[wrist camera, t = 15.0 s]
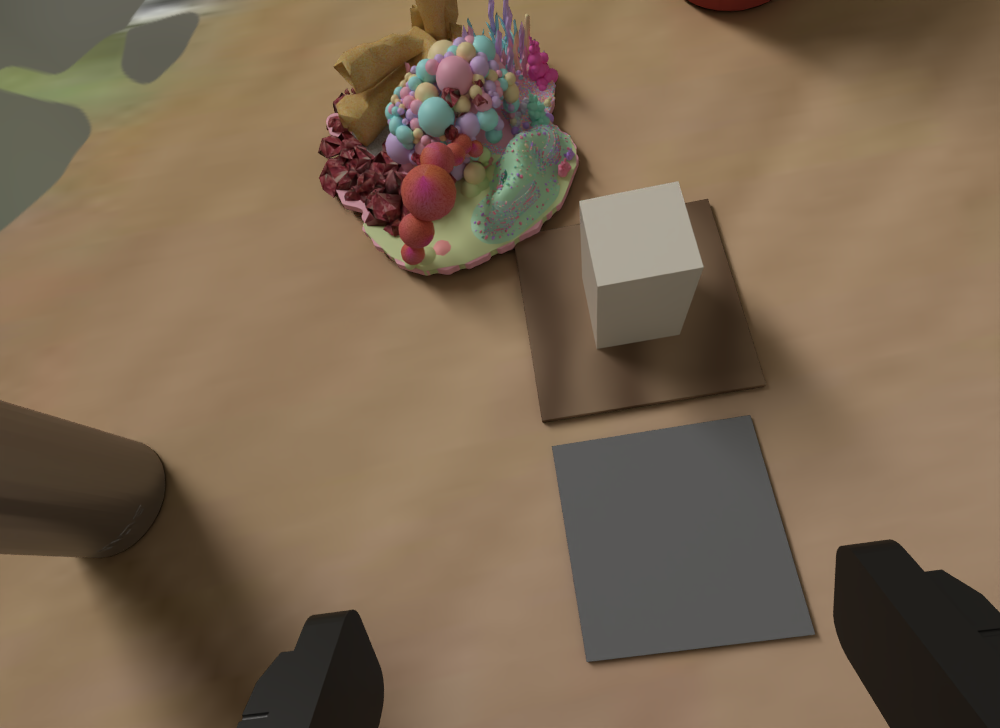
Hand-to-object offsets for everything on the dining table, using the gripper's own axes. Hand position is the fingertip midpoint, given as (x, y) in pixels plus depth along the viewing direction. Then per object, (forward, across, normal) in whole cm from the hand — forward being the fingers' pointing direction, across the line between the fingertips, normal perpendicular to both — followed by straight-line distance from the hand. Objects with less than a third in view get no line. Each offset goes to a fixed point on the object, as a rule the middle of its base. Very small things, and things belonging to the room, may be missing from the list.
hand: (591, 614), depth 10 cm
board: (+36, -6, +8) cm, 37 cm away
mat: (+24, -6, +20) cm, 31 cm away
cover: (+35, -6, +7) cm, 36 cm away
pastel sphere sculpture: (+49, +6, -6) cm, 49 cm away
